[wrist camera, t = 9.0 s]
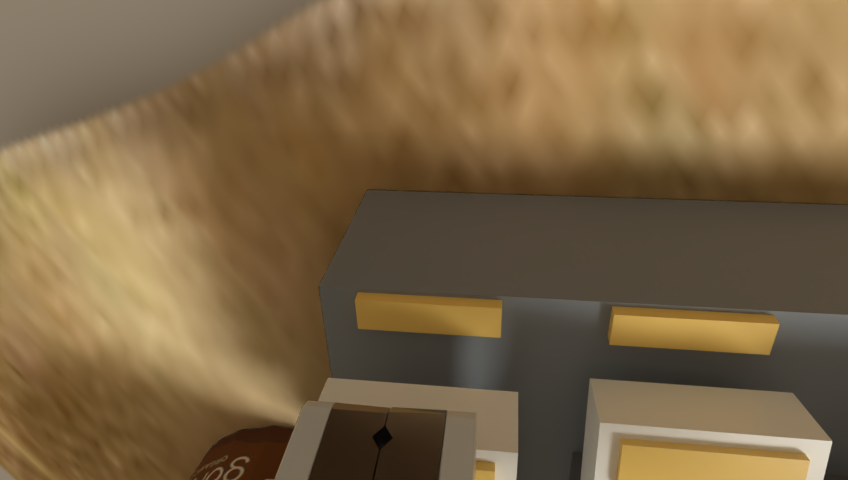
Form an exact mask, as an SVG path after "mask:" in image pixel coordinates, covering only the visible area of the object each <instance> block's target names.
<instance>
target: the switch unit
mask: <svg viewBox="0 0 848 480" xmlns="http://www.w3.org/2000/svg"><path fill="white" fill-rule="evenodd" d="M318 287H319V293H320V300H321V307H322V314H323V320H324V327H325V334H326V341H327V348H328V354H329V361H330V368H331V375H332V378H339V379H352V380H365V381H379V382H392V383H405V384H419V385H432V386H445V387H458V388H472V389H485V390H498V391H512V392H518V462H517V478H516V480H580V478H581V467H582V456H583V445H584V435H585V424H586V413H587V402H588V392H589V381H590V378H593V379H607V380H621V381H635V382H649V383H663V384H677V385H691V386H705V387H719V388H734V389H748V390H762V391H776V392H790V393H793V394H794V395H795V396H796V397H797V398H798V400H799V401H800V402H801V403H802V405H803V406H804V407H805V408H806V409H807V411H808V412H809V413H810V414H811V416H812V417H813V418H814V419H815V420H816V422H817V423H818V424H819V425H820V427H821V428H822V429H823V430H824V431H825V433H826V434H827V435H828V436H829V438H830V439H831V440H832V441H833V442H832V446H831V450H830V454H829V458H828V462H827V467H826V471H825V475H824V479H823V480H848V205H834V204H802V203H770V202H738V201H706V200H674V199H642V198H610V197H577V196H545V195H513V194H481V193H449V192H417V191H385V190H367V191H366V193H365V195H364V197H363V199H362V201H361V203H360V205H359V207H358V209H357V211H356V213H355V215H354V217H353V219H352V221H351V223H350V225H349V227H348V229H347V231H346V233H345V235H344V237H343V239H342V241H341V243H340V245H339V247H338V249H337V251H336V253H335V255H334V257H333V259H332V261H331V263H330V265H329V266H328V268H327V270H326V272H325V274H324V276H323V278H322V280H321V282H320V284H319V286H318Z"/></svg>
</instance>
